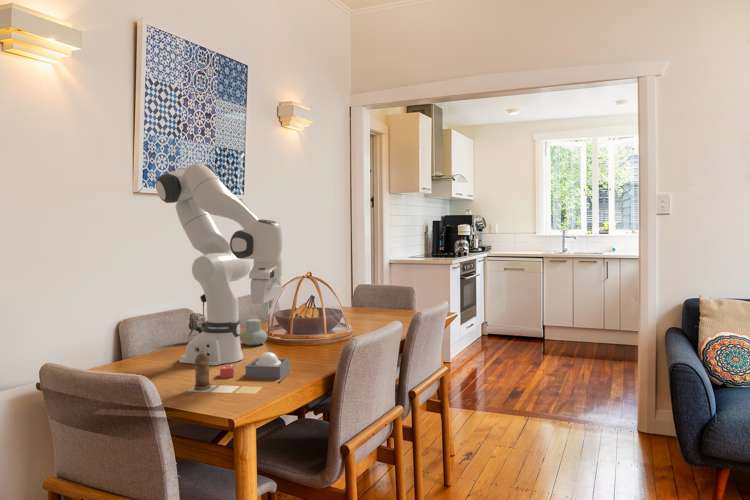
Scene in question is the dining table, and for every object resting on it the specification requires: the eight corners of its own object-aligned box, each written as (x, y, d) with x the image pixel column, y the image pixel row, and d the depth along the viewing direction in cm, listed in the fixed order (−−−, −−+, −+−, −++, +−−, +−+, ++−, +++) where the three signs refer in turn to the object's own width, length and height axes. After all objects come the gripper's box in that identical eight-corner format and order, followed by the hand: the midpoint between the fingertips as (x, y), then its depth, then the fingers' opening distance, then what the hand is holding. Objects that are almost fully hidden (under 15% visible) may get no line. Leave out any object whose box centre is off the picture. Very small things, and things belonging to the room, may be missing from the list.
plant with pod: (186, 340, 240) (185, 293, 239) (213, 338, 244) (213, 292, 243) (188, 344, 232) (187, 295, 231) (216, 342, 237) (215, 294, 236)
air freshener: (270, 343, 234) (270, 319, 233) (258, 347, 226) (258, 322, 226) (249, 341, 238) (249, 317, 238) (236, 345, 231) (236, 320, 230)
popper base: (245, 381, 176) (245, 366, 176) (257, 372, 187) (257, 357, 187) (280, 383, 175) (279, 367, 174) (289, 373, 186) (289, 358, 185)
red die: (220, 381, 176) (220, 367, 176) (221, 378, 180) (221, 364, 180) (233, 381, 177) (233, 367, 176) (234, 377, 181) (234, 364, 180)
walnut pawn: (191, 390, 163) (190, 355, 162) (198, 385, 167) (197, 351, 167) (206, 390, 162) (206, 355, 162) (213, 386, 167) (212, 352, 166)
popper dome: (252, 375, 177) (251, 354, 177) (260, 368, 185) (260, 349, 185) (276, 375, 176) (276, 355, 176) (284, 369, 184) (283, 349, 184)
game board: (184, 396, 161) (184, 392, 161) (197, 387, 170) (197, 383, 170) (255, 399, 158) (255, 394, 158) (265, 390, 167) (265, 385, 167)
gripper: (268, 267, 190) (267, 308, 191) (247, 273, 170) (246, 319, 170) (286, 268, 189) (285, 309, 190) (267, 274, 169) (266, 320, 170)
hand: (267, 314), depth 180 cm, fingers closed
